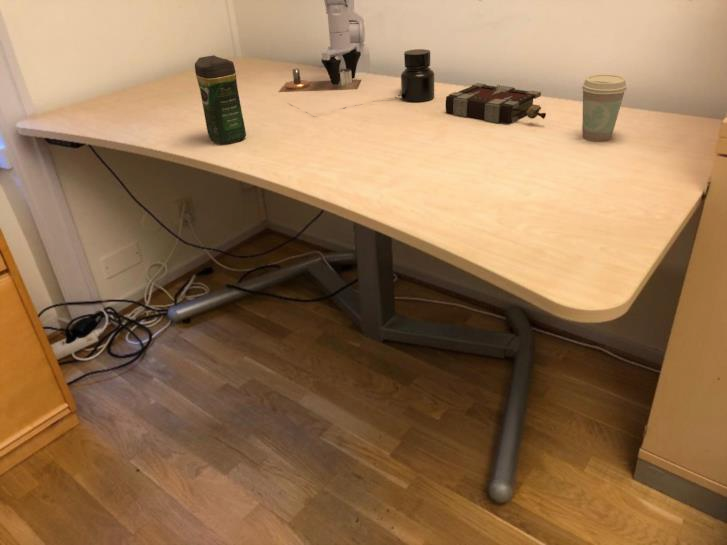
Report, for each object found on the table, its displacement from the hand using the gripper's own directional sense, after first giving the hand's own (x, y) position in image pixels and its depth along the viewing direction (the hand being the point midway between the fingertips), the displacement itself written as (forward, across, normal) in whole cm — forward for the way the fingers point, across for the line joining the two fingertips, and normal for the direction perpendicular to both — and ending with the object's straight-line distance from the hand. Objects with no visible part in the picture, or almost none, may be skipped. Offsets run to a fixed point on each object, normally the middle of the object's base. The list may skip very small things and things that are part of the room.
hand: (343, 81), depth 169 cm
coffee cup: (+3, +10, +76) cm, 76 cm away
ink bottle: (+3, -1, +25) cm, 25 cm away
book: (+3, +3, +51) cm, 51 cm away
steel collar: (+1, 0, 0) cm, 1 cm away
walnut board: (+3, +3, -6) cm, 7 cm away
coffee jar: (+3, +46, +1) cm, 47 cm away
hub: (+1, +7, -12) cm, 14 cm away
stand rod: (+1, 0, 0) cm, 1 cm away
